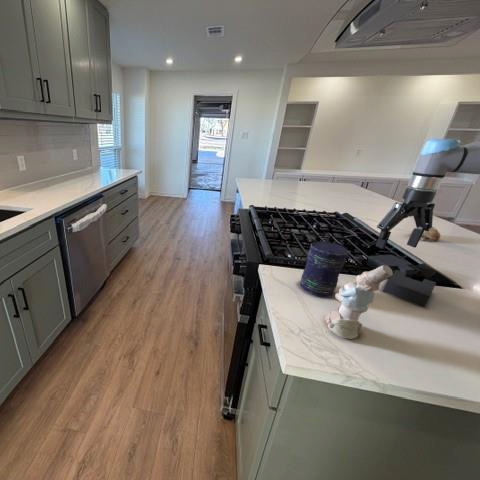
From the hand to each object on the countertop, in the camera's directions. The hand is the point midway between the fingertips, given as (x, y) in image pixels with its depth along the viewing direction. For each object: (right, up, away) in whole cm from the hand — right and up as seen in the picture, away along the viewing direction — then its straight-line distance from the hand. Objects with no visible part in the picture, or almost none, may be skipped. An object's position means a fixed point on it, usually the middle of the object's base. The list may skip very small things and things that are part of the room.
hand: (395, 246), depth 92 cm
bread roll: (+46, +4, +35) cm, 58 cm away
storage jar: (-35, -14, -9) cm, 39 cm away
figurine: (-38, -21, -26) cm, 51 cm away
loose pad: (0, -9, +2) cm, 10 cm away
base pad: (-6, -15, -10) cm, 19 cm away
